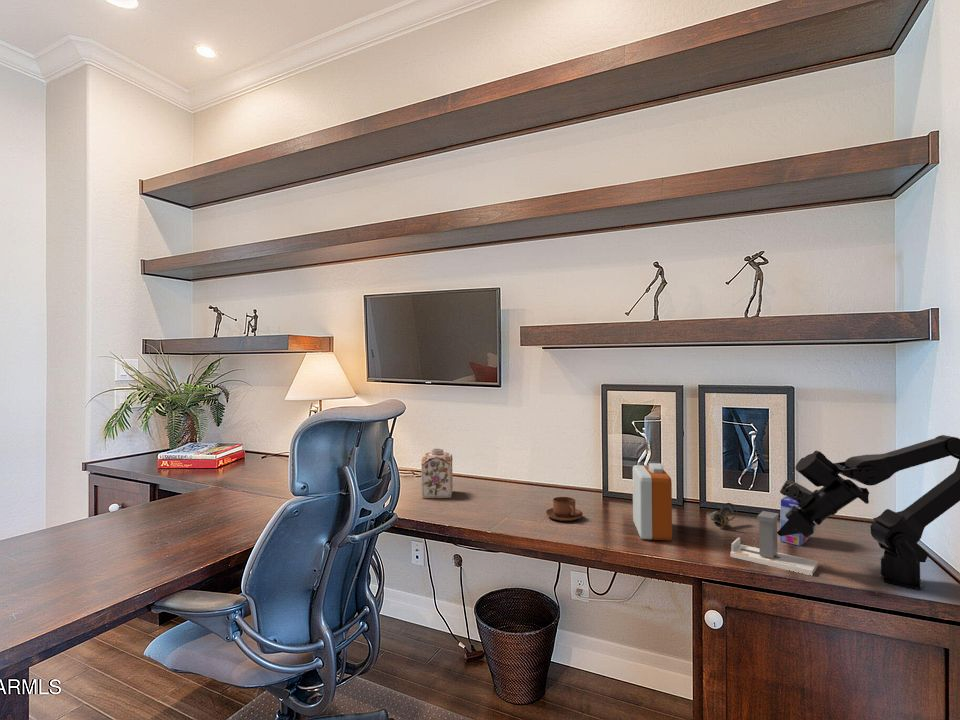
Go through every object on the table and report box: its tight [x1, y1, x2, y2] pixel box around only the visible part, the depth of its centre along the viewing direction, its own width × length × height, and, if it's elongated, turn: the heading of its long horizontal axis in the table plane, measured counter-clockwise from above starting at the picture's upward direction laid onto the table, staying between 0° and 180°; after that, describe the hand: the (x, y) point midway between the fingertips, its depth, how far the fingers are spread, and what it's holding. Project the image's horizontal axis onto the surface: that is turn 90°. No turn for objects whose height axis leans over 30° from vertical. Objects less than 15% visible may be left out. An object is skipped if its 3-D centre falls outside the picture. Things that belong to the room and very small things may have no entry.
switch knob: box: [757, 510, 780, 559], centre depth 127 cm, size 4×6×10 cm, turn 137°
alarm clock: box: [632, 462, 673, 541], centre depth 151 cm, size 18×9×21 cm, turn 170°
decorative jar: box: [420, 447, 454, 499], centre depth 195 cm, size 12×12×18 cm
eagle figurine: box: [709, 502, 736, 531], centre depth 155 cm, size 8×8×10 cm
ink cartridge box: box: [779, 496, 810, 547], centre depth 142 cm, size 10×6×14 cm, turn 135°
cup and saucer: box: [545, 496, 584, 522], centre depth 164 cm, size 12×12×6 cm
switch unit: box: [730, 537, 819, 577], centre depth 127 cm, size 18×8×3 cm, turn 47°
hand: (778, 534), depth 126 cm, fingers closed
